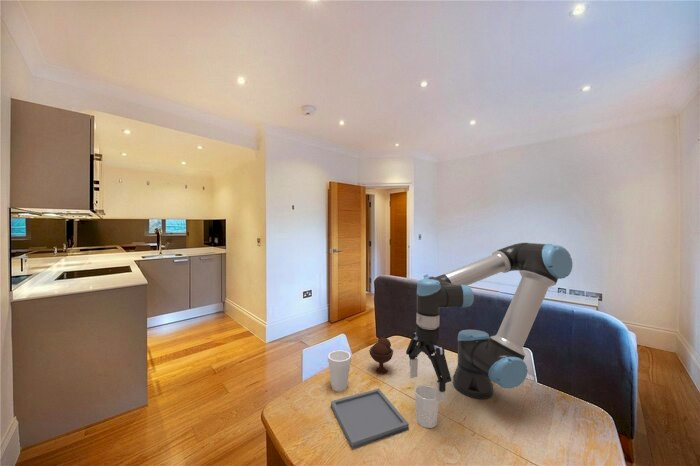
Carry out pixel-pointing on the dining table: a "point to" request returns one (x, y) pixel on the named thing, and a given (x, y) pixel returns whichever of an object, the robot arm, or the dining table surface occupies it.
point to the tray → (368, 418)
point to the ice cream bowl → (381, 354)
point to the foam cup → (339, 369)
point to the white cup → (426, 406)
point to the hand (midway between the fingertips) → (425, 387)
